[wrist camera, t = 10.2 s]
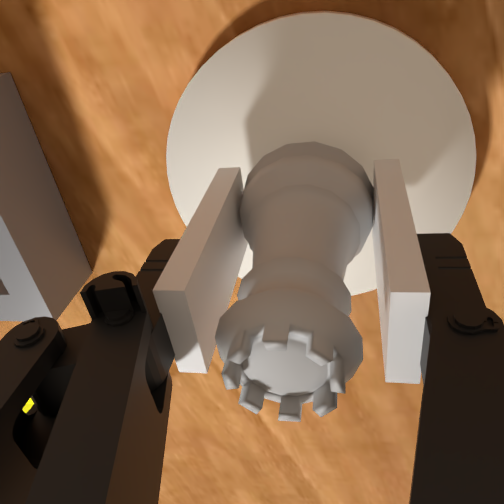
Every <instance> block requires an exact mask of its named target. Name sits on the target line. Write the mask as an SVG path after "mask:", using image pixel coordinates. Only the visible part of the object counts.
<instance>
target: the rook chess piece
mask: <svg viewBox="0 0 504 504" xmlns="http://www.w3.org/2000/svg"><path fill="white" fill-rule="evenodd" d="M373 195H374V188H373V186H372V184H371V182H370V180H369V178H368V176H367V174H366V172H365V170H364V168H363V166H362V165H360V164H359V163H358V162H357V161H356V160H354V159H353V158H352V157H351V156H349V155H348V154H347V153H346V152H344V151H343V150H342V149H339V148H335V147H332V146H329V145H325V144H322V143H318V142H315V141H314V142H303V143H292V144H286V145H284V146H282V147H280V148H278V149H276V150H274V151H272V152H270V153H268V154H266V155H264V156H263V157H262V158H261V159H260V160H259V162H258V163H257V164H256V165H255V167H254V168H253V169H252V170H251V172H250V173H249V174H248V175H247V179H246V183H245V187H244V191H243V197H242V201H241V205H240V209H239V212H240V218H241V223H242V228H243V233H244V238H245V239H246V241H247V242H248V243H249V246H250V249H251V250H252V252H253V263H252V269H251V270H250V271H249V272H248V273H247V274H246V275H245V276H244V277H243V279H242V281H241V284H240V288H239V291H238V294H237V296H238V301H236V302H235V303H234V304H233V305H232V306H231V307H230V308H229V309H228V310H227V311H226V312H225V313H224V314H223V315H222V316H221V317H220V319H219V323H218V326H217V330H216V334H215V340H216V344H217V348H218V351H219V355H220V357H221V359H222V360H223V362H224V363H225V364H224V367H223V371H222V377H223V380H224V384H225V387H226V389H236V388H239V385H240V384H241V385H242V390H241V395H240V399H239V403H238V404H240V405H242V406H243V407H245V408H247V409H249V410H250V411H252V412H254V413H255V414H257V413H258V412H259V411H260V410H261V408H262V406H263V400H264V398H265V399H269V400H272V401H275V402H279V403H280V410H279V418H278V421H297V422H301V412H302V404H304V403H308V402H312V401H313V411H315V412H316V413H317V414H318V415H319V416H320V417H322V416H324V415H326V414H327V413H329V412H331V411H332V410H334V409H336V408H337V392H338V393H345V383H346V382H347V381H348V380H350V379H351V378H352V377H353V375H354V374H355V372H356V370H357V369H358V367H359V365H360V364H361V362H362V360H363V343H362V337H361V335H360V334H359V332H358V330H357V329H356V327H355V326H354V324H353V322H352V321H351V319H350V318H349V315H350V313H351V293H350V292H349V290H348V288H347V287H346V285H345V283H344V282H343V281H344V276H345V272H346V267H347V265H348V264H349V263H350V262H351V261H352V260H353V258H354V257H355V256H356V255H358V254H359V253H360V252H361V250H362V248H363V246H364V244H365V242H366V240H367V238H368V236H369V234H370V232H371V230H372V227H373Z"/></svg>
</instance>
